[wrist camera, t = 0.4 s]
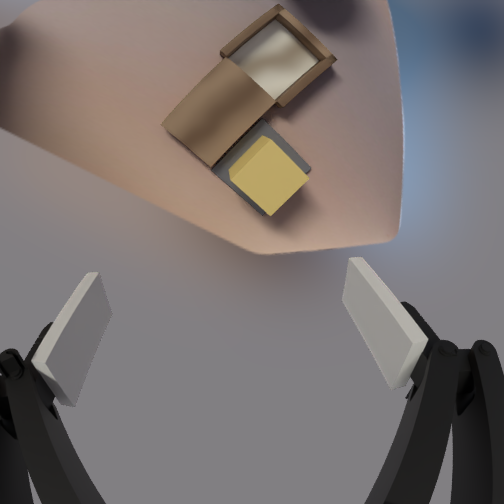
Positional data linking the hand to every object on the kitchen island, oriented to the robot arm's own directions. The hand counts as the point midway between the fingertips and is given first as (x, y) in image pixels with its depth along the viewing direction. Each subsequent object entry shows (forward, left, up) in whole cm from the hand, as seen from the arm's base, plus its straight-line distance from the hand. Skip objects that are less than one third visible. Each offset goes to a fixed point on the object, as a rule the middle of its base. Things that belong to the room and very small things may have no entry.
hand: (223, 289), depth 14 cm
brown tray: (-6, +12, -24) cm, 27 cm away
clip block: (+3, +5, -21) cm, 21 cm away
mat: (+3, +5, -24) cm, 25 cm away
